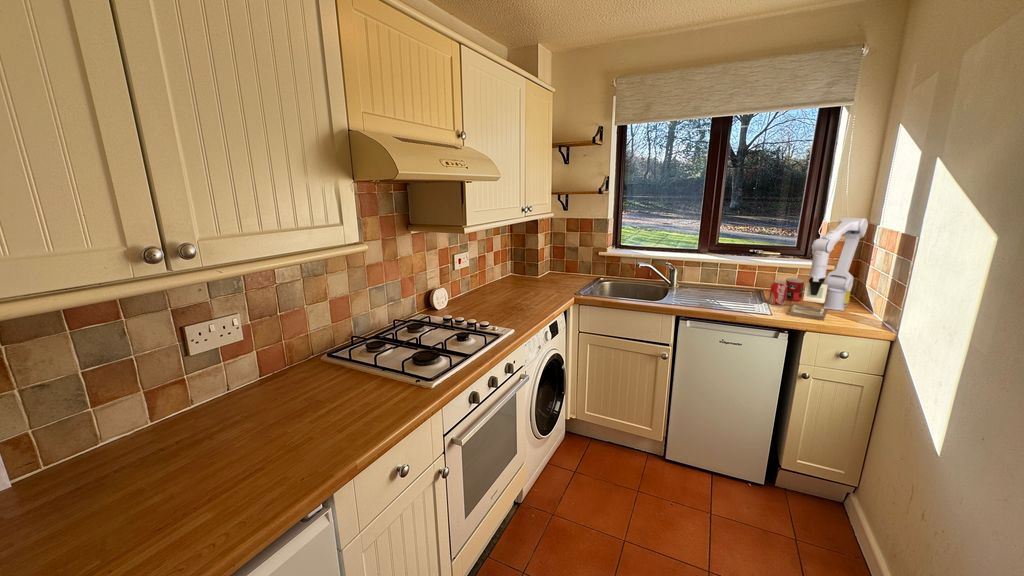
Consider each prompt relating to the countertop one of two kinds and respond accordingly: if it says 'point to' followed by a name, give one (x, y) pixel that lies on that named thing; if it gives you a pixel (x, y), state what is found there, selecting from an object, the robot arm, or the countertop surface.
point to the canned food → (794, 289)
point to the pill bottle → (847, 298)
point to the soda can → (778, 293)
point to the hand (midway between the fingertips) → (814, 294)
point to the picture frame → (815, 298)
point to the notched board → (807, 312)
